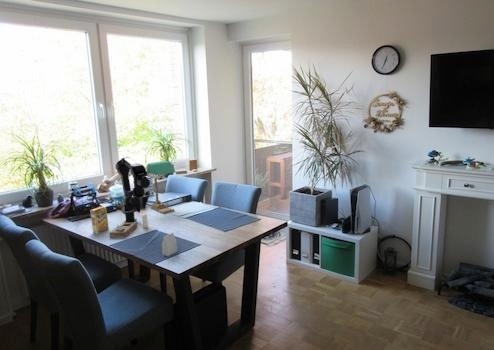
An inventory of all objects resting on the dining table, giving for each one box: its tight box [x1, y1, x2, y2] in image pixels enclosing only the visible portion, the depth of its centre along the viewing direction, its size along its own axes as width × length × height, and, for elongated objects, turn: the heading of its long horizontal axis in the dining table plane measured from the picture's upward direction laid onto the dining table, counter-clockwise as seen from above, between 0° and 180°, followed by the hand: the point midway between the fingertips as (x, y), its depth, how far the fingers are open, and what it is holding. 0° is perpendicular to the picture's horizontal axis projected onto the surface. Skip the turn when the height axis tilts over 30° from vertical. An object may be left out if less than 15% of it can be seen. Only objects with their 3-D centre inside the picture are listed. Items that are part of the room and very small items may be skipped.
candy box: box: [89, 205, 110, 234], centre depth 236 cm, size 9×4×15 cm, turn 150°
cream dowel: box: [141, 213, 149, 229], centre depth 239 cm, size 3×3×9 cm
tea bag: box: [161, 232, 178, 257], centre depth 199 cm, size 4×7×10 cm, turn 146°
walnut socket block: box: [109, 222, 138, 239], centre depth 232 cm, size 18×9×4 cm, turn 174°
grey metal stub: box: [116, 223, 123, 231], centre depth 227 cm, size 3×3×6 cm
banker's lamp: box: [146, 160, 176, 215], centre depth 276 cm, size 16×21×35 cm
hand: (141, 210), depth 237 cm, fingers open, 9 cm apart
